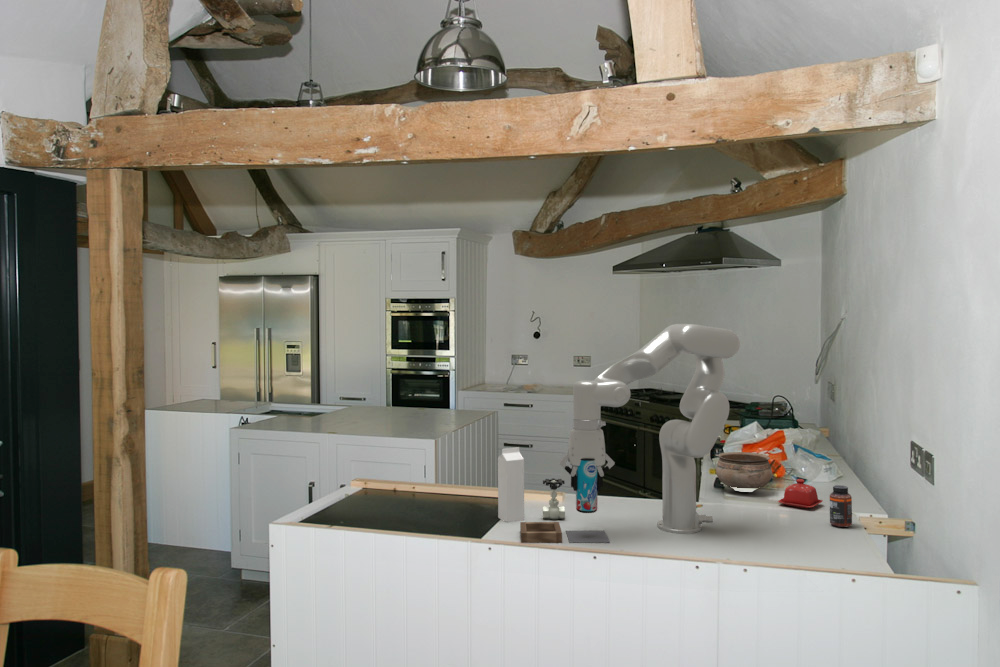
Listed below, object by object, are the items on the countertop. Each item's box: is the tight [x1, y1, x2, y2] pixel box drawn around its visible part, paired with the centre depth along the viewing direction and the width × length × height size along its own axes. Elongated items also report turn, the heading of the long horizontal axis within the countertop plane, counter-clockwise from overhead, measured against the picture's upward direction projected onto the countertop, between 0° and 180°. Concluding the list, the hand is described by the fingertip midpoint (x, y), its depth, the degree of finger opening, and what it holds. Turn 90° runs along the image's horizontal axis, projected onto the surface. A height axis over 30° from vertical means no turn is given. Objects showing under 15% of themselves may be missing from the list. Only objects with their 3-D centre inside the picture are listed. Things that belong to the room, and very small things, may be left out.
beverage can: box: [575, 459, 598, 514], centre depth 202 cm, size 6×6×15 cm
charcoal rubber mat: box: [565, 529, 611, 544], centre depth 202 cm, size 11×11×1 cm
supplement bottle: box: [829, 484, 853, 528], centre depth 214 cm, size 6×6×11 cm
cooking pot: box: [715, 451, 773, 488], centre depth 258 cm, size 25×19×12 cm
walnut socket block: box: [520, 521, 563, 544], centre depth 202 cm, size 11×11×3 cm
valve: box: [542, 477, 566, 521], centre depth 221 cm, size 7×7×12 cm
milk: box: [497, 446, 525, 523], centre depth 221 cm, size 6×6×22 cm
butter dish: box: [777, 478, 824, 509], centre depth 238 cm, size 12×12×8 cm
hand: (586, 489), depth 202 cm, fingers closed on beverage can, 5 cm apart
